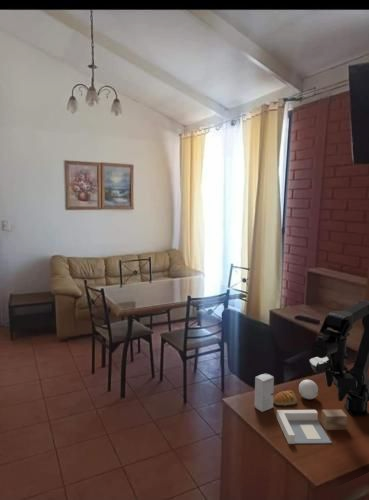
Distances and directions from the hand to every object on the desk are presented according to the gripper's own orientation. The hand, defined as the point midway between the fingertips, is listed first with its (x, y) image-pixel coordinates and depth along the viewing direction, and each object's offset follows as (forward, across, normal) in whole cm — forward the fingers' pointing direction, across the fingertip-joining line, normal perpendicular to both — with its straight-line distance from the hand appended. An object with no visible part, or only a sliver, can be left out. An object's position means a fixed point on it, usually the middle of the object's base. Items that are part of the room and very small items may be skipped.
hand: (334, 393), depth 122 cm
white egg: (+12, -19, -2) cm, 22 cm away
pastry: (+12, -15, -12) cm, 23 cm away
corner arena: (+12, +3, -11) cm, 17 cm away
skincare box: (+12, -11, -22) cm, 27 cm away
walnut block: (+12, 0, 0) cm, 12 cm away
